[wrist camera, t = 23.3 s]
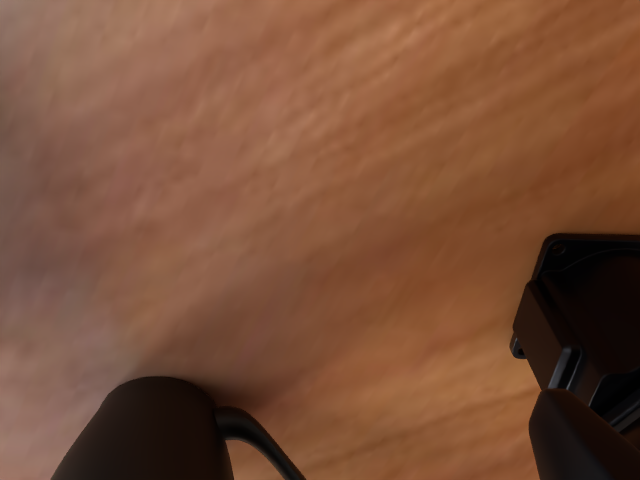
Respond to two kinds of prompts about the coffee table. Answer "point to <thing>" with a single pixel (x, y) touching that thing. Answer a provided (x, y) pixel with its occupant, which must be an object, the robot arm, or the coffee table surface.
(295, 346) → the coffee table surface
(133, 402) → the mug
